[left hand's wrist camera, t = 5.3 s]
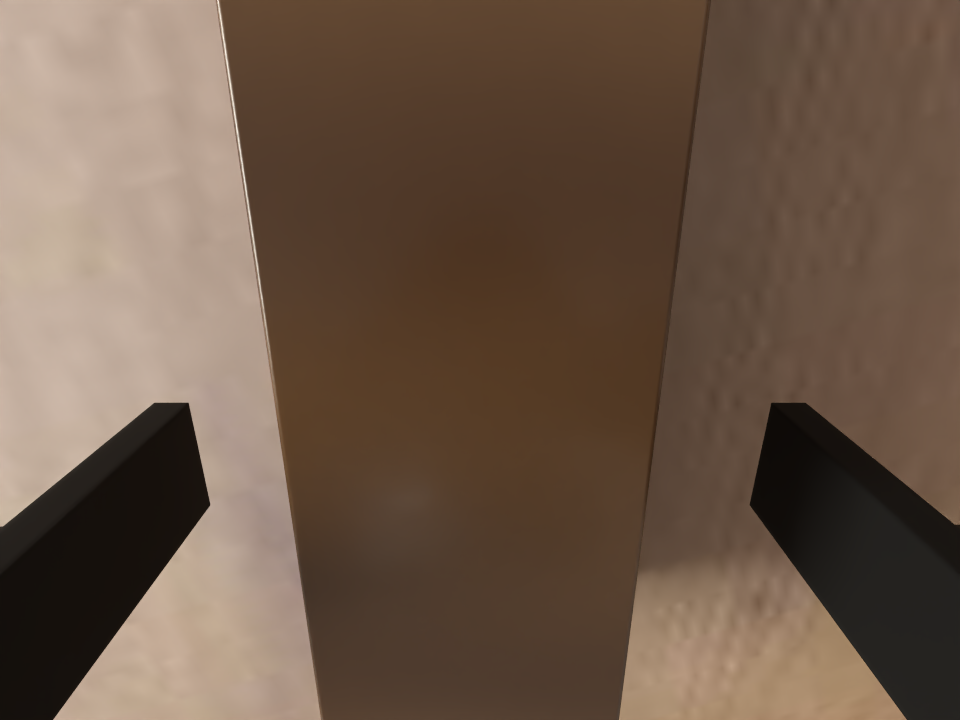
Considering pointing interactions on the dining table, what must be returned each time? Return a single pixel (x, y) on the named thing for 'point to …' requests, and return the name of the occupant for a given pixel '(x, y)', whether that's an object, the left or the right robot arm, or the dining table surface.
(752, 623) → the dining table surface
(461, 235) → the post
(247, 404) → the dining table surface
